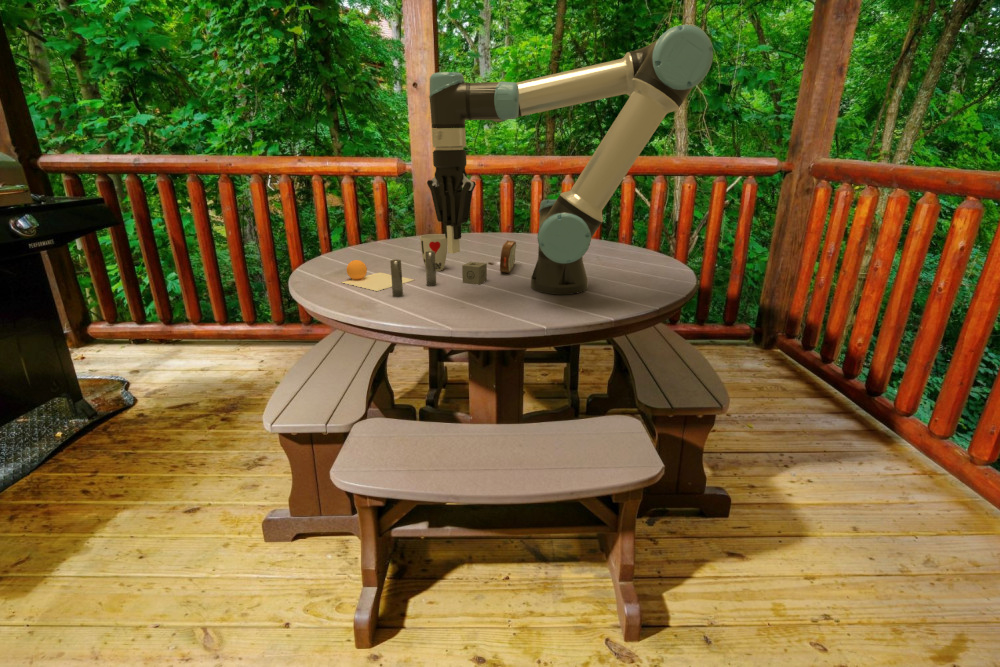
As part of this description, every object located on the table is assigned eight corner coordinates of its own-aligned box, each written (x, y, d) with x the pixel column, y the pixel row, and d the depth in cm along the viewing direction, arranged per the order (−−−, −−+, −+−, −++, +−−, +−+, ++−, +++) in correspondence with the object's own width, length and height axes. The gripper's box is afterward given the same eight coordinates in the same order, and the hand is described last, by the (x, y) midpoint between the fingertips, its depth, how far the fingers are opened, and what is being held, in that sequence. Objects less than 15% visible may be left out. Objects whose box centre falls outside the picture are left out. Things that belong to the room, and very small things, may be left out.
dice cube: (470, 278, 150) (470, 261, 148) (486, 280, 148) (486, 263, 146) (462, 283, 146) (462, 265, 144) (478, 285, 144) (478, 267, 142)
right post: (438, 284, 144) (437, 251, 140) (431, 286, 142) (430, 253, 138) (431, 283, 145) (429, 250, 142) (424, 285, 143) (423, 252, 140)
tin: (507, 264, 167) (507, 237, 164) (516, 264, 167) (517, 238, 164) (498, 275, 153) (499, 247, 150) (509, 276, 153) (509, 247, 150)
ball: (373, 274, 148) (366, 255, 147) (358, 278, 143) (350, 259, 143) (362, 279, 151) (355, 261, 151) (347, 284, 147) (339, 265, 146)
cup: (416, 271, 157) (415, 237, 154) (429, 265, 165) (427, 233, 161) (441, 273, 155) (440, 239, 151) (452, 267, 162) (452, 235, 158)
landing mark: (414, 280, 148) (414, 279, 147) (376, 291, 137) (376, 290, 137) (379, 272, 155) (379, 272, 155) (341, 283, 144) (341, 282, 144)
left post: (405, 295, 134) (403, 260, 131) (397, 297, 132) (395, 262, 129) (397, 293, 135) (395, 259, 132) (390, 295, 133) (388, 260, 130)
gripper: (416, 149, 120) (423, 252, 128) (461, 149, 113) (465, 258, 121) (438, 148, 125) (443, 246, 134) (482, 148, 118) (484, 252, 127)
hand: (453, 252), depth 127 cm, fingers closed
